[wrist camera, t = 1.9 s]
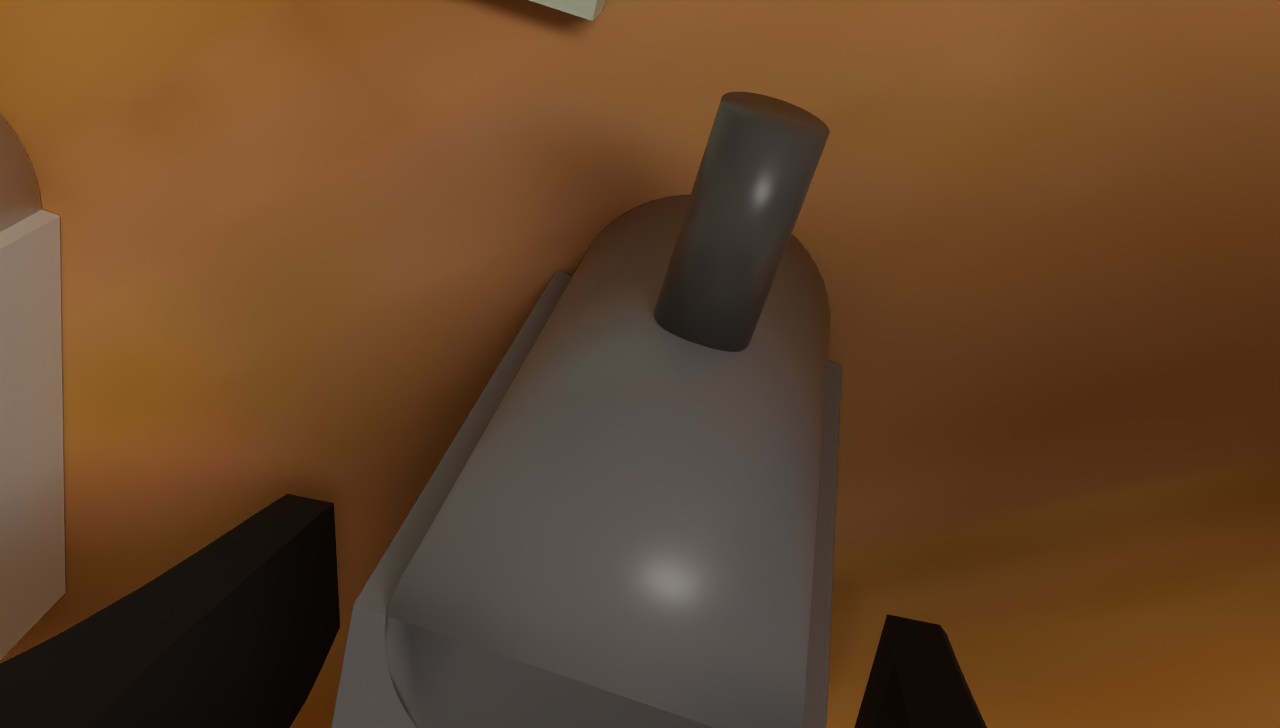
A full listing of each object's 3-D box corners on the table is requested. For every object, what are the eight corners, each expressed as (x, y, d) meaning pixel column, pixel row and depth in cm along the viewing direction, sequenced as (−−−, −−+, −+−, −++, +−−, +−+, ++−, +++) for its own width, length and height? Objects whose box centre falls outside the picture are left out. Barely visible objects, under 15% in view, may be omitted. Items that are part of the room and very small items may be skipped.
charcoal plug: (631, -21, 11) (432, 166, 6) (963, 87, 11) (1045, 369, 6) (414, 819, 19) (241, 1224, 13) (613, 888, 19) (516, 1322, 13)
